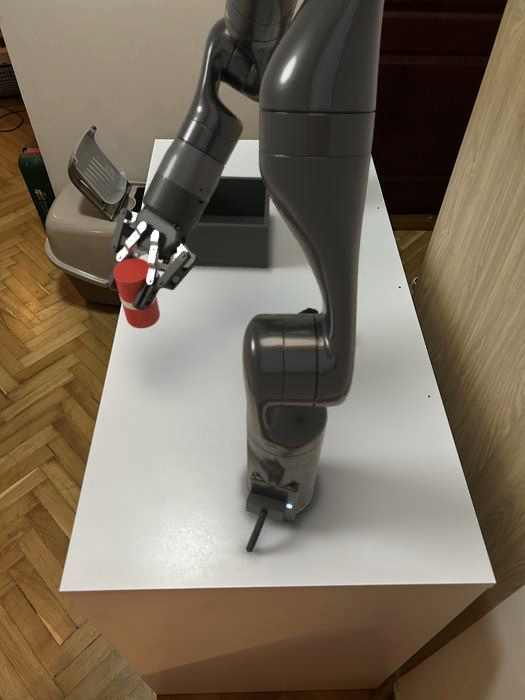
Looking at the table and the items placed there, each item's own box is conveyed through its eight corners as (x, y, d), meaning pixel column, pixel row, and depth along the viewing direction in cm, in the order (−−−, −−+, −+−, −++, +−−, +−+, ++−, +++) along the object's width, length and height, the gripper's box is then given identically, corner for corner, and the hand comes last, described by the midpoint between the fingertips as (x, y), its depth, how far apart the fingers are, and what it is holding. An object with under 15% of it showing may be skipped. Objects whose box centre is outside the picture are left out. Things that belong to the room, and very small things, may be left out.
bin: (267, 268, 103) (268, 227, 95) (187, 265, 103) (181, 224, 95) (269, 218, 113) (270, 177, 105) (195, 215, 113) (191, 175, 105)
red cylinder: (150, 332, 75) (139, 287, 68) (119, 323, 76) (105, 277, 69) (166, 309, 78) (157, 262, 71) (136, 300, 79) (124, 253, 72)
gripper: (129, 151, 68) (73, 268, 72) (205, 199, 62) (140, 323, 66) (166, 171, 74) (113, 277, 78) (238, 216, 68) (177, 328, 72)
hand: (126, 297), depth 72 cm, fingers closed on red cylinder, 4 cm apart
